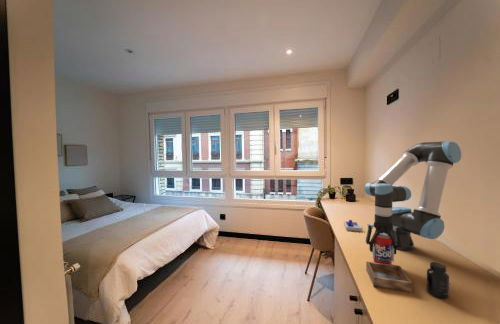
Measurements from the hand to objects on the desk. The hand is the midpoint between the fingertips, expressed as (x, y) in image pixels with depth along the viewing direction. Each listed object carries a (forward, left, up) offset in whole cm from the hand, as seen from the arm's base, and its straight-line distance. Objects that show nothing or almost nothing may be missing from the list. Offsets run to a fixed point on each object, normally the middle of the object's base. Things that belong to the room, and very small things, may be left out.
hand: (382, 258), depth 109 cm
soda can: (0, 0, -3) cm, 3 cm away
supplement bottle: (-14, +20, -3) cm, 25 cm away
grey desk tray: (+6, -53, -3) cm, 53 cm away
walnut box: (+2, +15, -3) cm, 15 cm away
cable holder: (+7, -54, -2) cm, 54 cm away
